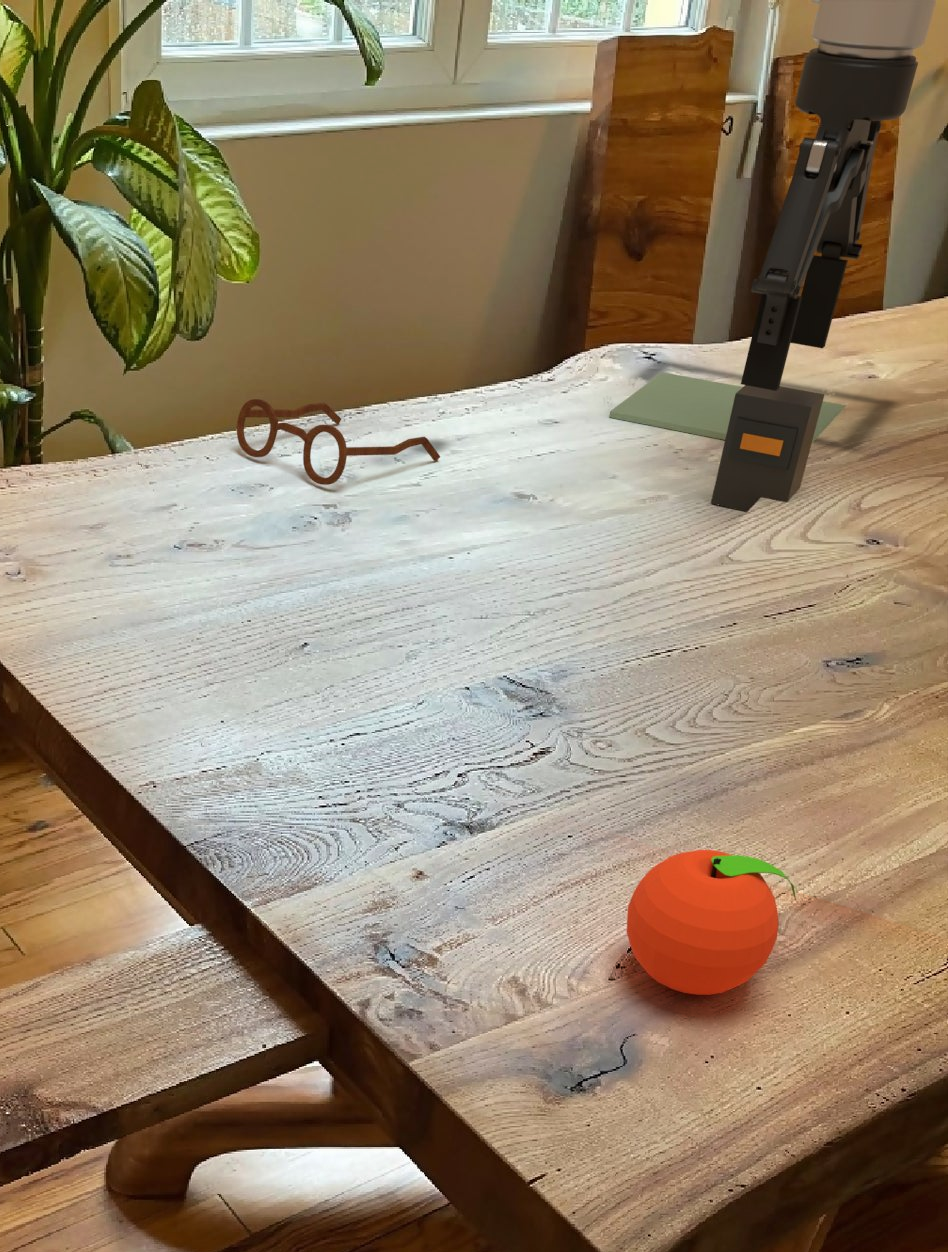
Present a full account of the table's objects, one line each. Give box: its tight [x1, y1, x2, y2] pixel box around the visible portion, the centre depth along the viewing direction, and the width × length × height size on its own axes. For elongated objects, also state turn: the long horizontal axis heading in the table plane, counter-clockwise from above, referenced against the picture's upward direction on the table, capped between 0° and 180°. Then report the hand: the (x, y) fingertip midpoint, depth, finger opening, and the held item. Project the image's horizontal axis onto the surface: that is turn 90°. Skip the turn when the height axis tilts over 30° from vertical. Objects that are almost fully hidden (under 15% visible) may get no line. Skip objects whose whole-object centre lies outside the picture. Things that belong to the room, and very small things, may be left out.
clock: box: [710, 385, 825, 513], centre depth 120 cm, size 6×4×9 cm
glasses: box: [236, 398, 441, 486], centre depth 128 cm, size 13×13×5 cm
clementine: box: [626, 849, 797, 996], centre depth 70 cm, size 8×7×7 cm
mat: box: [608, 371, 848, 443], centre depth 140 cm, size 22×15×1 cm
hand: (784, 365), depth 116 cm, fingers open, 13 cm apart
